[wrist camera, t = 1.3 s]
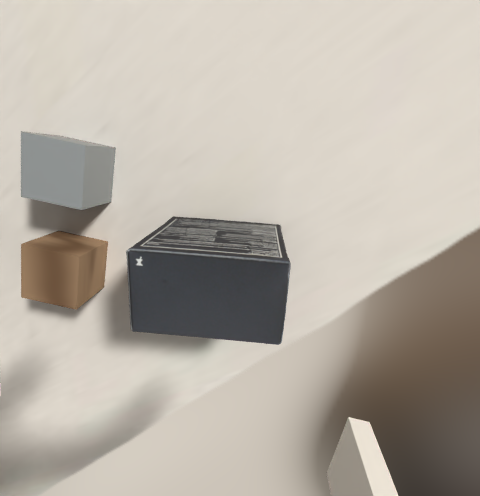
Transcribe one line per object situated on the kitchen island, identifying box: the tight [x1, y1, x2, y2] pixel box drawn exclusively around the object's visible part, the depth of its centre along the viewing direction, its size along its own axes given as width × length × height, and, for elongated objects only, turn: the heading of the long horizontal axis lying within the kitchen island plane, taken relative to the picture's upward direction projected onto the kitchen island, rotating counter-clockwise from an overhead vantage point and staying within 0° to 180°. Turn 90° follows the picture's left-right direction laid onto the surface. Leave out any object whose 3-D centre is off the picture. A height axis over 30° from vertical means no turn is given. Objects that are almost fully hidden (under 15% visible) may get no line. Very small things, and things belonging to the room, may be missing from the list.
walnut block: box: [21, 231, 108, 309], centre depth 29 cm, size 5×5×5 cm
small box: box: [126, 217, 290, 345], centre depth 25 cm, size 11×6×10 cm, turn 87°
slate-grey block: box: [21, 131, 116, 210], centre depth 26 cm, size 5×5×5 cm
